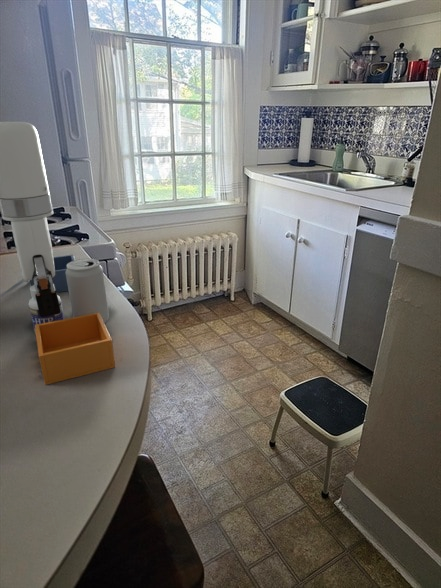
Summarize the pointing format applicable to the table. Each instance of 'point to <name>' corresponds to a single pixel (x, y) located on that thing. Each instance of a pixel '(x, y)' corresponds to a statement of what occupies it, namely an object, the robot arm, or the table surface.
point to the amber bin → (74, 347)
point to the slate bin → (60, 272)
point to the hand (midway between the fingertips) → (48, 303)
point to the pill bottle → (35, 312)
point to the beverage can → (87, 288)
